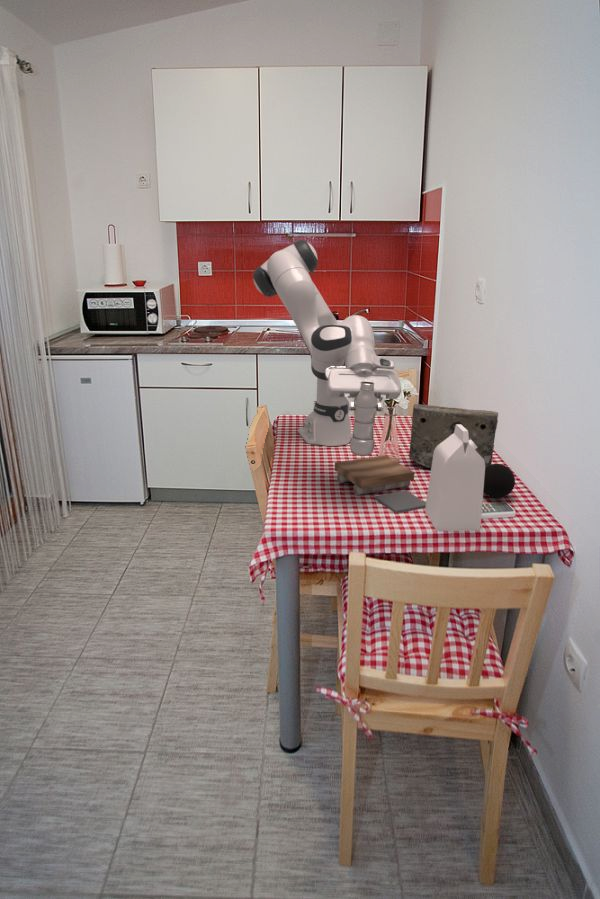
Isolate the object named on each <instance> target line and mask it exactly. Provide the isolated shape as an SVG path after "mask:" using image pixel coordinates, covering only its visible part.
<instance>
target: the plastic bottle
mask: <svg viewBox="0 0 600 899" xmlns="http://www.w3.org/2000/svg"><path fill="white" fill-rule="evenodd" d="M360 390H361V391H360V392H359V394H358V395H357V396H356V397H355V398H353V399H354V400H353V402H354V406H355V409H354V411H353V414H354V418H353V420H354V421H353V431H352V434H353V435H352V439H351V440H350V442H349V443H350V444H349V446H350V447H349V448H350V452H351V453H352V454H353V455H355V456H359V457H360V456H361V457H363V456H364V457H366V456H371V455H372V454H373V453H374V449H375V438H374V436H375V434H374V431H375V430H374V426H375V418H376V414H377V411H376V410H377V405H378V403H379V402H378V399H377V398H376V396H375V395H374V393H373V390H374V383H373V382H361V384H360Z"/></svg>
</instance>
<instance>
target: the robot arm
mask: <svg viewBox="0 0 600 899" xmlns="http://www.w3.org/2000/svg"><path fill="white" fill-rule="evenodd" d="M318 263H319V259H318V254H317V251H316V249H315V248H314V246H313V245H312V244H311V243H310V242H308V241H307V240H305V239H300V240H296V241H295V242H293V243H292V244H291V245H288V246H286V247H284V248H282V249H281V250H277V251H275V252H274V253H272V255H270V257H269V258H268V259H267V260H266V261H264V262H263V264H261V265H259V266H257V267H256V268H255V269H254V271H253V274H252V278H253V284H254V286H255V288H256V290H257V291H258V292H259V293H261V295H263V296H264V297H267V298H272V297H275V296H277V295H278V297H279V299H280V301H281V302H282V305H284V307H285V309H286V310H287V312H288V313H289V315H290V317H291V319H292V321H293V322H294V325H295V326H296V328H297V330H298V332H299V335H300V337H301V339H302V340H303V343H304V345H305V347H306V349H307V350H308V353H309V355H310V360H311V364H310V365H311V366H310V368H311V373H312V374H313V375H314V376H315V377H316V378H317V379H316V400H314V401H313V405H314V406H313V410H312V411H311V412H310V413H309V414H308V415H307V416H305V418H304V421H303V422H302V426H303V427H300V428H297V433H298V434H299V435H300V436H301V438H302V439H303V440H304V441H305V442H306V444H308V445H309V444H310V445H318V446H327V447H337V446H344V445H347V444H349V443H351V439H352V435H353V433H352V430H351V429H352V428H351V426H352V425H351V424H352V423H351V416H350V415H349V414H348V413H349V411H353V412H354V409H355V406H354V401H351V399H350V398H352V399H355V397H356V396H357V395H358V394H359V392H360V391H361V390H360V384H361V382H373V383H374V390H373V393H374V395H375V396H376V398H377V400H379V402H378V405H377V410H376V412H383V410H384V403H385V401H386V400H398V398H399V397H400V395H401V393H402V383H401V380H400V377H399V374H398V372H397V371H396V370H395V362H394V361H393V360H392V359H391V360H390V359H387V358H384V357H381V356H379V355H377V353H376V351H375V348H376V343H375V342H376V341H375V335H374V334H375V333H374V331H373V328H372V327H373V326H372V324H371V322H370V321H369V320H368V319H367V318H366V317H365V316H361V315H357V314H353V315H350V316H347V317H346V318H344V320H342V321H341V322H338V320H337V319H336V317H335V316H334V314H333V312H331V311H332V310H331V309H330V308H329V306H328V304H327V303H326V301H325V300H324V297H323V296H322V294H321V293H320V291H319V289H318V288H317V286H316V285H315V283H314V281H313V280H312V278H311V275H314V271H315V270H317V269H316V268H317V267H318V265H319V264H318ZM310 274H311V275H310Z"/></svg>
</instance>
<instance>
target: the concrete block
mask: <svg viewBox="0 0 600 899" xmlns="http://www.w3.org/2000/svg"><path fill="white" fill-rule="evenodd" d="M498 417H499V412H497V411H493V410H484V409H483V410H482V409H467V408H461V407H447V406H439V405H431V404H419V403H417V404H416V403H415V404H413V408H412V418H411V427H410V428H411V430H410V443H409V452H408V454H409V455H408V456H409V458H410V460H412V461H414V462H415V463H417V464H419V465H421V466H423V467H426V468H427V469H428V468H429V469H431V467H432V460H433V454H434V450H435V448H436V447H437V446H438V445H439V444H440V443H441V442H443V441H444V440H445V439H447V438H448V437H449V436H451V435H452V434H453V433H454V430H455V427H456V424H461V425H462V426H463V427H464V428H465V429H466V430H468V436H469V440H470V439H471V440H472V441H473V442H474V444H475V445H476V446H477V448H476V449H475V450H476V451H477V453H478V454H479V455H480V456H481V457H482V458H483V459H484V462H485V468H486V467H487V466H489V465H492V462H493V456H494V448H495V438H496V431H497V428H498V420H499V419H498Z"/></svg>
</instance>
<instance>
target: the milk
mask: <svg viewBox="0 0 600 899" xmlns="http://www.w3.org/2000/svg"><path fill="white" fill-rule="evenodd" d="M476 448H477V446H476V445H475V444H474V442H473V441H472V440H471V439H470V440H469V436H468V430H466V429H465V428H464V427H463V426H462V425H461V424H456V427H455V430H454V433H453V434H452V435H451V436H449V437H448V438H447V439H445V440H444V441H443V442H441V443H440V444H439V445H438V446H437V447H436V448H435V450H434V454H433V460H432V467H431V468H430V474H429V475H430V476H429V482H428V487H427V495H426V501H425V502H426V507H425V508H424V513H425V514H426V515H427V517H428V519H429V521H430V522H431V524H432V525H433V527H434V529H435V531H436V532H445V531H446V532H448V531H449V532H451V531H452V532H453V531H454V532H456V531H457V532H461V531H463V532H464V531H465V532H467V531H471V532H472V531H481V524H482V523H481V522H482V514H483V513H482V511H483V502H484V501H483V500H484V499H483V498H484V492H483V489H484V476H485V462H484V459H483V458H482V457H481V456H480V455H479V454H478V453H477V451H476V450H475V449H476Z"/></svg>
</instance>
